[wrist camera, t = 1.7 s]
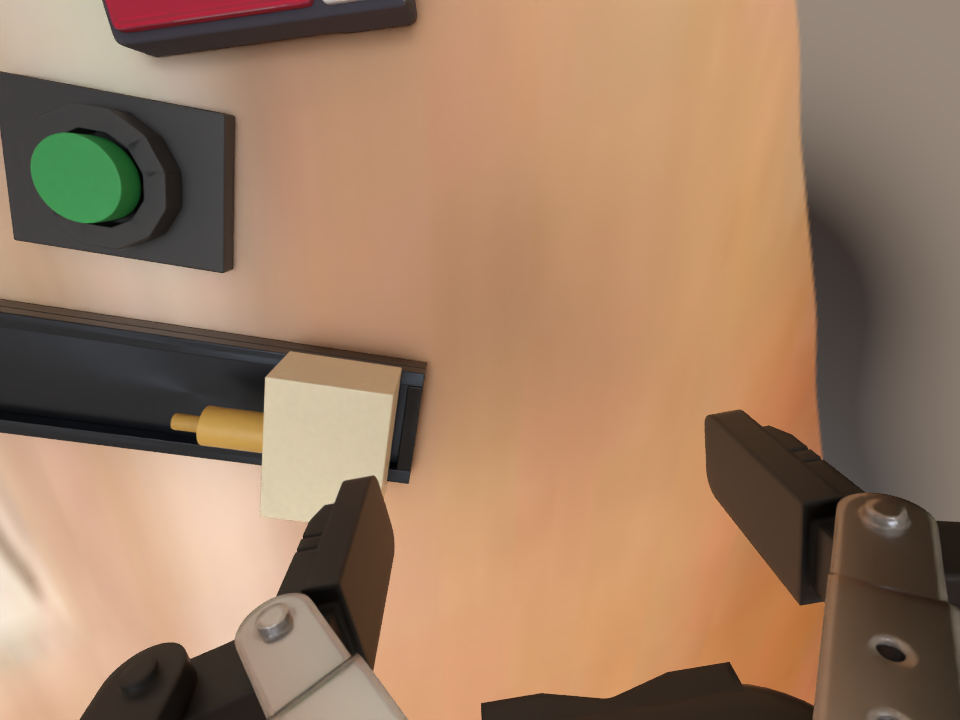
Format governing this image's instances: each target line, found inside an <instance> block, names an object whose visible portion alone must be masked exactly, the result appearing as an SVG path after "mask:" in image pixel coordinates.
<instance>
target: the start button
mask: <svg viewBox="0 0 960 720" xmlns="http://www.w3.org/2000/svg"><path fill="white" fill-rule="evenodd" d="M31 176H32V180H33V183H34V185H35V188H36V190H37V192H38V193H39V195H40V196H41V198H42V199H43V201H44V202H45V203H46V204H47V205H48V206H49V207H50V208H51V209H52V210H54V211H55V212H56V213H58V214H59V215H61V216H63V217H65V218H67V219H69V220H72V221H74V222H79V223H98V222H106V221H113V220H118V219H121V218H123V217H125V216H127V215H129V214H130V213H131V212H132V211H133V210H134V209H135V207H136V206H137V204H138V202H139V199H140V195H141V180H140V176H139V173H138V170H137V168H136V166H135V164H134V162H133V161H132V159H131V158H130V157H129V156H128V154H127V153H126V152H125V151H124V150H123V149H122V148H120V147H119V146H118V145H116V144H115V143H113V142H112V141H110V140H108V139H105V138H103V137H99V136H95V135H86V134H76V133H56V134H53V135H50V136H48V137H46V138H45V139H43V140H42V141H41V142H40V143H39V144H38V145H37V147H36V148H35V150H34V152H33V154H32V158H31Z"/></svg>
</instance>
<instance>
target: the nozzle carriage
mask: <svg viewBox="0 0 960 720" xmlns="http://www.w3.org/2000/svg"><path fill="white" fill-rule="evenodd" d="M401 371H402V368H401V367H394V366H387V365H380V364H373V363H367V362H360V361H353V360H346V359H339V358H333V357H326V356H319V355H312V354H305V353H299V352H292V351H290V352H289V353H288V354H287V355H286V356H285V357H284V358H283V359H282V360H281V361H280V362H279V363H278V364H277V365H276V366H275V368H274V369H273V370H272V371H271V372H270V373H269V374H268V375H267V376H266V377H265V394H264V413H263V412H255V411H248V410H241V409H233V408H226V407H218V406H211V405H210V406H207V407H206V408H205V409H204V410H203V412H202V413H201V416H197V415H189V414H182V413H175V414H174V415H173V417H172V419H171V428H172V429H173V430H180V431H188V432H196V437H197V442H198V443H199V444H200V445H203V446H211V447H218V448H226V449H234V450H242V451H250V452H258V453H262V476H261V503H260V517H266V518H274V519H283V520H291V521H300V522H309V521H310V520H311V519H312V517H313V516H314V515H315V514H316V513H317V512H318V511H319V510H320V509H321V508H322V507H323V506H324V505H327V504H333V503H334V502H335V500H336V497H337V495H338V492H339V490H340V487H341V484H342V482H343V481H345V480H350V479H356V478H361V477H367V476H372V475H374V476H375V477H376V478H377V480H378V482H379V485H380V489H381V492H382V495H383V499H384V495H385V491H386V485H387V477H388V469H389V462H390V454H391V447H392V439H393V431H394V424H395V416H396V409H397V401H398V393H399V386H400V378H401Z"/></svg>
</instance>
